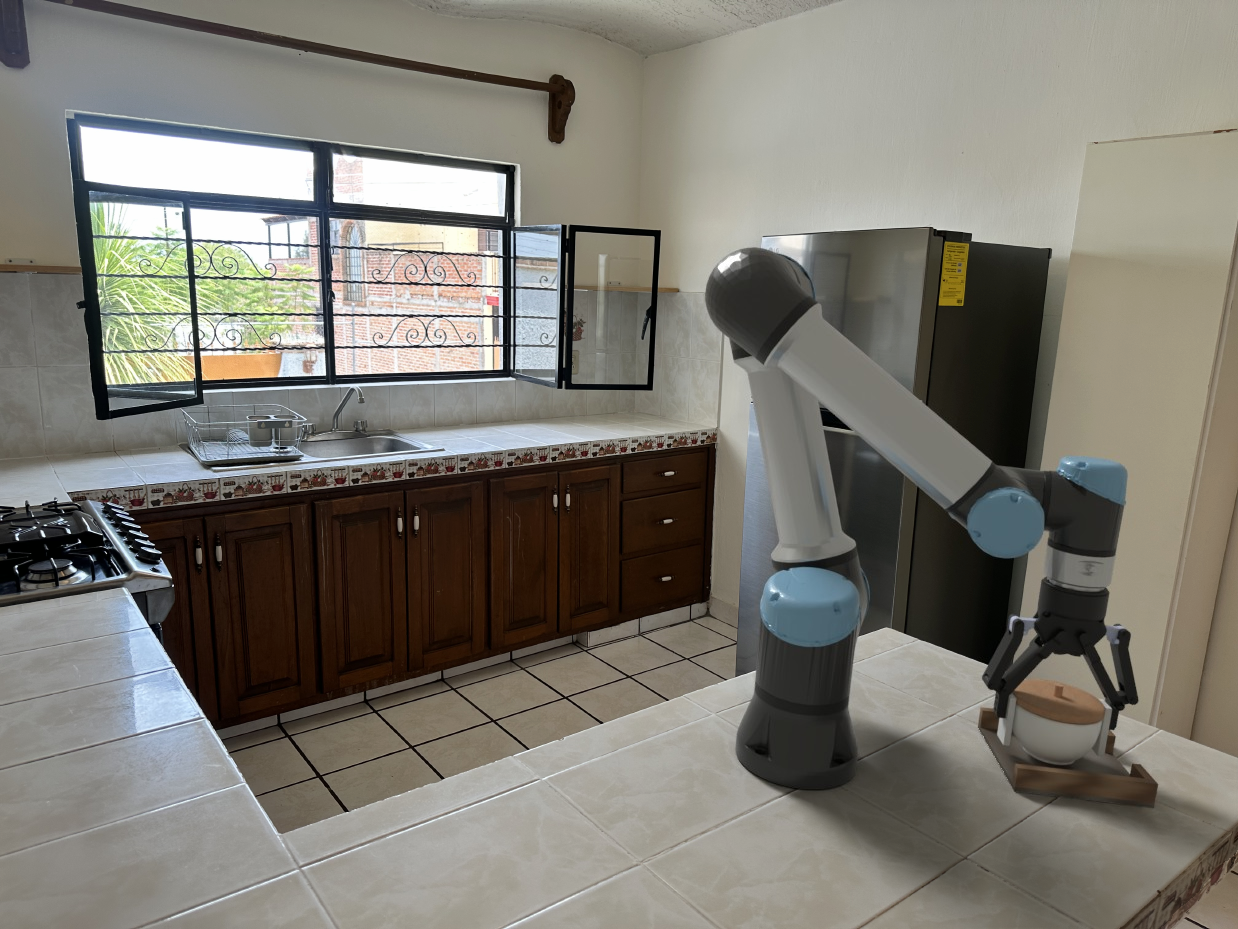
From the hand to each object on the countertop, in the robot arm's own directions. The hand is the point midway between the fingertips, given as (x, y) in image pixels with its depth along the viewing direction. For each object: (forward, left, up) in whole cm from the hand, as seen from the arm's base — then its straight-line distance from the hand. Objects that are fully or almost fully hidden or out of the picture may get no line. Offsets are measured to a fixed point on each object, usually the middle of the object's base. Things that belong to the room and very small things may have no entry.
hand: (1049, 745), depth 108 cm
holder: (+2, 0, -3) cm, 3 cm away
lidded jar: (0, 0, -1) cm, 1 cm away
